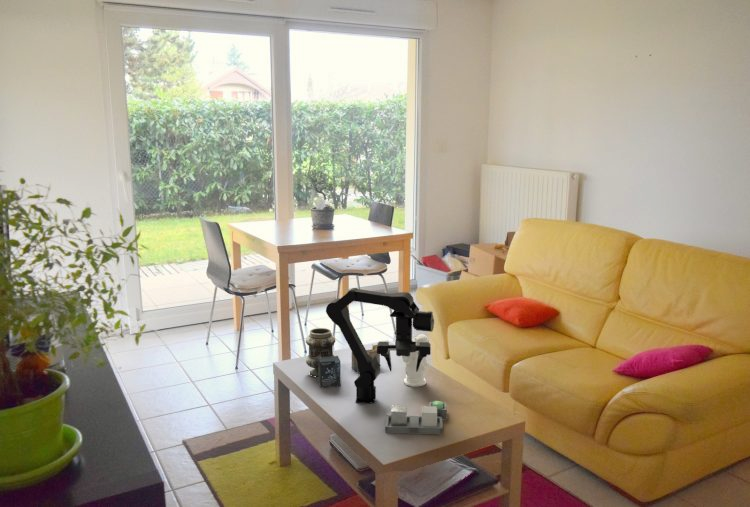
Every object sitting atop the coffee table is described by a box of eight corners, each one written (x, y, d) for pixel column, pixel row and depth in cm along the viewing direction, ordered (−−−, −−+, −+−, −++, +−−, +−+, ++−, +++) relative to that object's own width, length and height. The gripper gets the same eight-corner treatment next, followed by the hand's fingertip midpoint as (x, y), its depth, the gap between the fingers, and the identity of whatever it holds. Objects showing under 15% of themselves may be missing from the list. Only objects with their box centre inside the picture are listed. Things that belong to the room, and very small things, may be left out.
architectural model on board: (377, 365, 273) (377, 343, 271) (380, 368, 270) (379, 345, 268) (351, 369, 270) (351, 346, 268) (353, 371, 267) (353, 348, 265)
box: (320, 388, 249) (320, 362, 247) (318, 382, 255) (317, 356, 253) (341, 386, 251) (340, 360, 249) (338, 380, 256) (338, 355, 254)
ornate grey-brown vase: (339, 369, 268) (338, 326, 265) (331, 380, 257) (330, 336, 253) (311, 366, 271) (310, 325, 267) (302, 378, 259) (300, 334, 256)
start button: (432, 416, 224) (432, 405, 223) (432, 411, 228) (432, 400, 227) (443, 416, 224) (443, 405, 223) (443, 411, 227) (443, 401, 227)
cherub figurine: (431, 386, 251) (433, 331, 246) (403, 392, 246) (404, 336, 241) (416, 374, 262) (417, 322, 257) (388, 380, 256) (388, 326, 252)
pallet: (385, 432, 214) (385, 414, 212) (386, 420, 222) (386, 402, 221) (442, 434, 212) (442, 415, 211) (441, 422, 221) (442, 404, 219)
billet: (391, 428, 215) (391, 411, 214) (391, 421, 220) (391, 405, 219) (406, 429, 215) (406, 412, 214) (406, 422, 220) (406, 405, 218)
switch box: (429, 419, 223) (429, 409, 222) (428, 411, 229) (429, 402, 228) (446, 419, 223) (446, 409, 222) (446, 411, 229) (446, 402, 228)
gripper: (375, 335, 222) (375, 379, 225) (430, 336, 221) (430, 380, 224) (377, 325, 233) (378, 367, 236) (430, 326, 232) (430, 368, 235)
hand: (403, 371), depth 232 cm, fingers open, 9 cm apart
